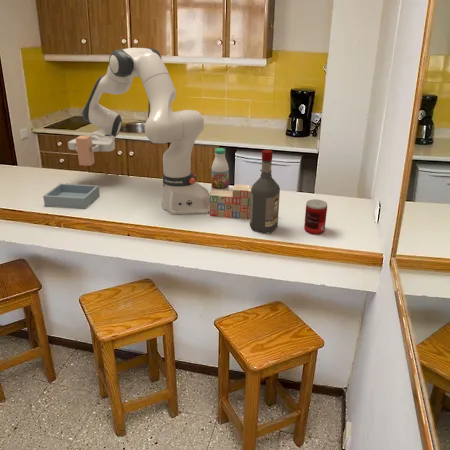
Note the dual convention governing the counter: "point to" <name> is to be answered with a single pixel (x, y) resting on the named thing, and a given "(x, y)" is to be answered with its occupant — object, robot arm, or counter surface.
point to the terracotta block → (85, 150)
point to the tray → (71, 196)
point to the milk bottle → (220, 171)
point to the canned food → (315, 216)
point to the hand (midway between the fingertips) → (84, 150)
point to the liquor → (265, 198)
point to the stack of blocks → (231, 202)
